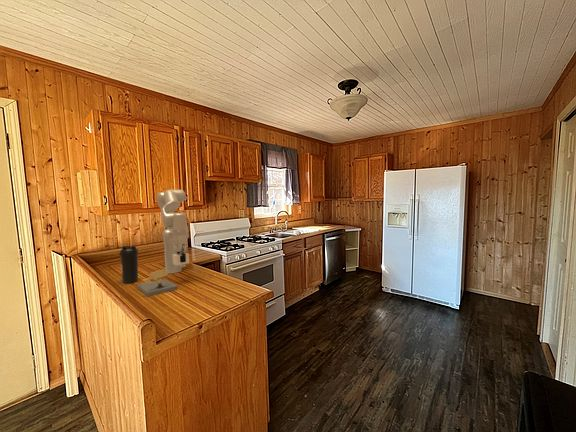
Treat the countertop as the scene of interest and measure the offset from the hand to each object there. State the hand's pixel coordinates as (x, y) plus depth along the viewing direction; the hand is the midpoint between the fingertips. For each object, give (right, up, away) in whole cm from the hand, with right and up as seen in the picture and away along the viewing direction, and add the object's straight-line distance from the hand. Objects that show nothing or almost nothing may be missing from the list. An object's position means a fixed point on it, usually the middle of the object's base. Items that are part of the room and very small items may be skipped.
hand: (181, 261), depth 162 cm
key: (-7, -12, -17) cm, 22 cm away
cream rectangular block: (0, -2, 0) cm, 2 cm away
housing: (-9, -14, -11) cm, 20 cm away
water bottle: (-34, -14, +3) cm, 37 cm away
